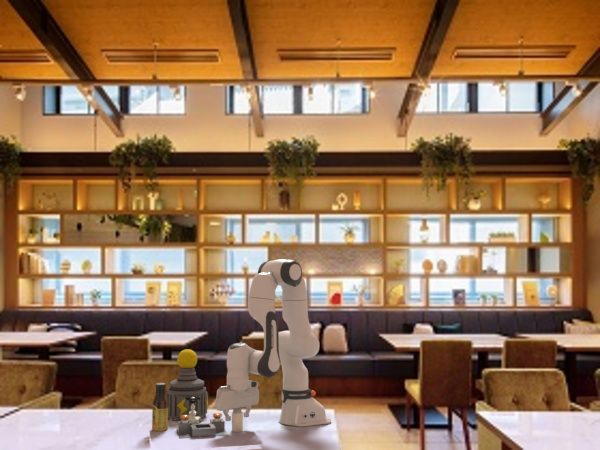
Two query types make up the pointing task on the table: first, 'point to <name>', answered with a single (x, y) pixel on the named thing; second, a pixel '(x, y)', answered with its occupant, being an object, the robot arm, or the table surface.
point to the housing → (201, 429)
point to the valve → (192, 414)
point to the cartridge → (237, 420)
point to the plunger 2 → (217, 416)
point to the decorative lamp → (186, 389)
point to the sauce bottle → (160, 409)
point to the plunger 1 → (184, 418)
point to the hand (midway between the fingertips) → (237, 418)
